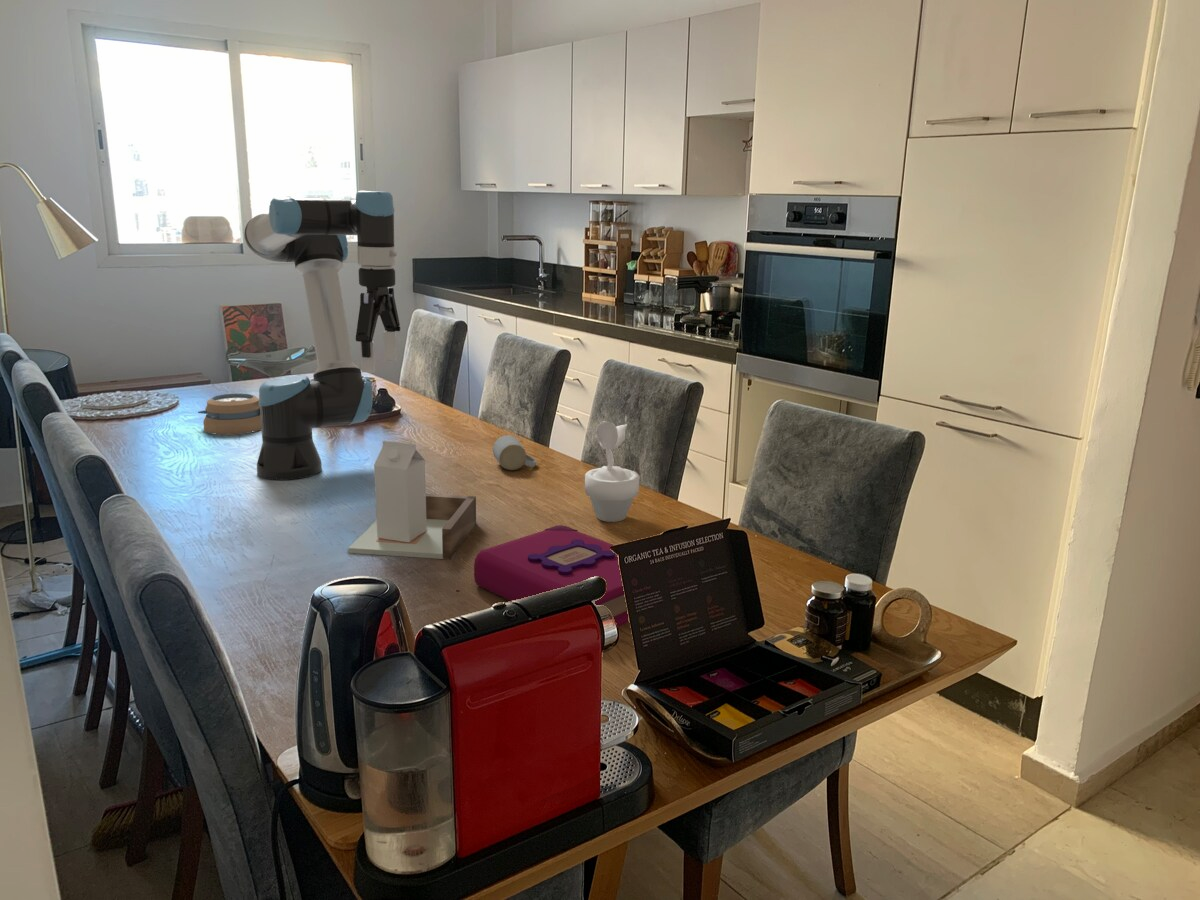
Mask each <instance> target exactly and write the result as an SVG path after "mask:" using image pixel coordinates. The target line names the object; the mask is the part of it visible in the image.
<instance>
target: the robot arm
mask: <svg viewBox="0 0 1200 900" xmlns="http://www.w3.org/2000/svg"><path fill="white" fill-rule="evenodd" d="M394 214H395V207H394V199H393V195H392V192H391V193H390V192H389V191H381V190H380V191H378V190H375V191H374V190H358V191H357V192H356V194H355V198H311V197H310V198H309V197H292V196H285V197H274V198H272V199H271V200H270V204H269V207H268V213H261V214H257V215H255V216H254V217H252V218H251V219H250V220H249V221H248V222H247V224H246V225H245V227H244V232H243V233H244V234H243V235H244V240H245V242H246V245H247V247H248V248H249V250H251V252H253V253H254V254H255V255H257V256H259V257H261V258H262V259H265V260H268V261H270V262H271V261H272V262H277V263H294V266H295V268H294V269H295V271H296V272H297V273H298V274H300V275H301V276H302V277H303V282H304V289H305V294H306V301H307V307H308V314H309V318H310V319H309V320H310V325H311V333H312V337H313V343H314V349H315V356H316V362H317V368H316V370H315V371H314V372H313V374H312V375H313V376H312V377H313V380H310V378H309V377H308V375H305V374H294V375H293V374H290V375H282V376H278V377H275V378H271V379H269V380H266V381H264V382H262V384H260V386H259V390H258V398H259V405H260V416H261V429H262V430H261V441H262V442H261V443H262V444H261V448H260V451H259V454H258V458H257V462H256V473H257V476H259V477H260V478H263V479H268V480H280V481H284V480H286V481H287V480H288V481H289V480H297V479H304V478H308V477H312V476H315V475H317V474H319V473H320V472H321V471H322V470H323V469H322V459H321V456H320V454H319V452H318V450H317V447H316V444H315V442H314V440H313V429H316V428H325V427H334V426H335V427H336V426H343V425H348V426H351V425H352V424H359V423H364V422H365V421H367V419H368V418H369V417H370V415H371V411H372V407H373V397H374V396H373V394H374V393H373V386H372V385H373V384H372V382H371V379H370V378H369V376H365V375H362V373H370V374H375V373H376V351H375V349H376V347H375V341H373V339H374V335H375V330H376V326H377V323H378V318H379V317H380V319H381V322H382V325H383V328H384V331H382V332H383V335H382V336H383V337H382V338H383V339H382V340H383V361H384V362H397V361H398V353H397V350H398V349H397V332H400V331H401V326H400V325H401V323H400V319H399V314H398V310H397V304H396V299H395V289H394V286H395V285H396V270H395V268H394V267H393V266H395V263H396V261H395V257H397V251H395V215H394ZM347 236H357V265H359V266H360V268H359V269H358V284H359V285H360V286H361V287H365V288H366V292H365V293H364V292H361V293H360V296H359V301H360V303H359V311H358V317H357V323H356V324H357V325H356V330H355V331H356V332H355V341H356V342H360V360H361V361H360V362H361V367H359V366H358V365H356V364H355V363H354V359H353V353H352V348H351V342H350V341H351V340H350V335H349V331H348V324H347V318H346V317H347V316H346V312H345V306H344V305H345V304H344V300H343V296H342V289H341V282H340V277H339V272H340V271H341V269H342V268H343V267H344V264H343V262H345V261H347V259H348V255H349V249H348V238H347Z"/></svg>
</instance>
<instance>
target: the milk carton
mask: <svg viewBox="0 0 1200 900" xmlns="http://www.w3.org/2000/svg"><path fill="white" fill-rule="evenodd" d="M425 461H426V460H425V458H424V457H423V456H422V455H421V454H420V453H419V452H418V450H417V444H416V443H410V442H400V441H399V442H398V441H389V440H382V447H381V449H380V451H379V453H378V456H377V458H376V460H375V462H374V464H373V469H374V470H373V471H374V489H375V490H374V493H375V494H374V495H375V513H376V514H375V515H376V517H375V518H376V521H377V537H378V538H382V539H388V540H395V541H402V542H411V541H412V540H414V539H415V538H417V537H418V536H419V535H421V534H422V533H424V532H425V531H427V523H426V494H427V493H426V492H427V491H426V462H425Z"/></svg>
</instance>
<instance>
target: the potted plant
mask: <svg viewBox="0 0 1200 900" xmlns="http://www.w3.org/2000/svg"><path fill="white" fill-rule="evenodd" d="M627 420H628V417H627V415H625V417H624V420H623V421H625V424H621V425H617V426H616V425H615V424H614V423H613V422H611V421H604V420H603V421H602V422H600V423H599V424H597V425H596V430H595V434H596V436H597V438H598V441H599V446H600V447H601V449H602V450H605V457H606V461H607V465H603V466H602V467H598V468H593V469H590V470H588V471H587V472H586V473H585V474H584V493H586V494H585V495H587V496H588V497H589V499H590V501H591V504H592V508H593V511H594V514H595V516H596V518H597V519H598V520H600V521H603V522H608V523H617V522H621V521H624V520H625V519H626V518H627V515H628V513H629V511H630V508H631V506H632V502H633V500H634V498H636V497H637V496H638V495H639V492H640V474H638V473H637V471H634V470H631V469H628V468H622V467H621V466H620V465H619V466H616V465H614V464H615V460H614V454H613V451H612V450H614V449H616V448H618V447H619V446H620V445H621V444H622V443H623V442H625V440H626V429H627V427H628V424H627ZM628 438H629V440H630V439H631V432H628Z"/></svg>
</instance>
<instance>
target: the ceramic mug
mask: <svg viewBox="0 0 1200 900" xmlns="http://www.w3.org/2000/svg"><path fill="white" fill-rule="evenodd" d="M492 455H493V457H494V458H495V460H496V461H497V462H498V463H499V465H500V466H501V467H502V468H503V469H505V470H507V471H516V470H519V469H521V468H522V467H523V466H527V467H529V468H535V467H536V465H537V461H538V460H536V459H535V458H534V457H532V456H530V455H529V454H527V453H526V449H525V448H524V446H523V444H522V443H521V441H520V440H519V439H518V438H517V437H515V436H513V435H509V434H508V435H507V434H506V435H502V436H500V437H499V438H497V440H495V441H494V444H493V447H492Z"/></svg>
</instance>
